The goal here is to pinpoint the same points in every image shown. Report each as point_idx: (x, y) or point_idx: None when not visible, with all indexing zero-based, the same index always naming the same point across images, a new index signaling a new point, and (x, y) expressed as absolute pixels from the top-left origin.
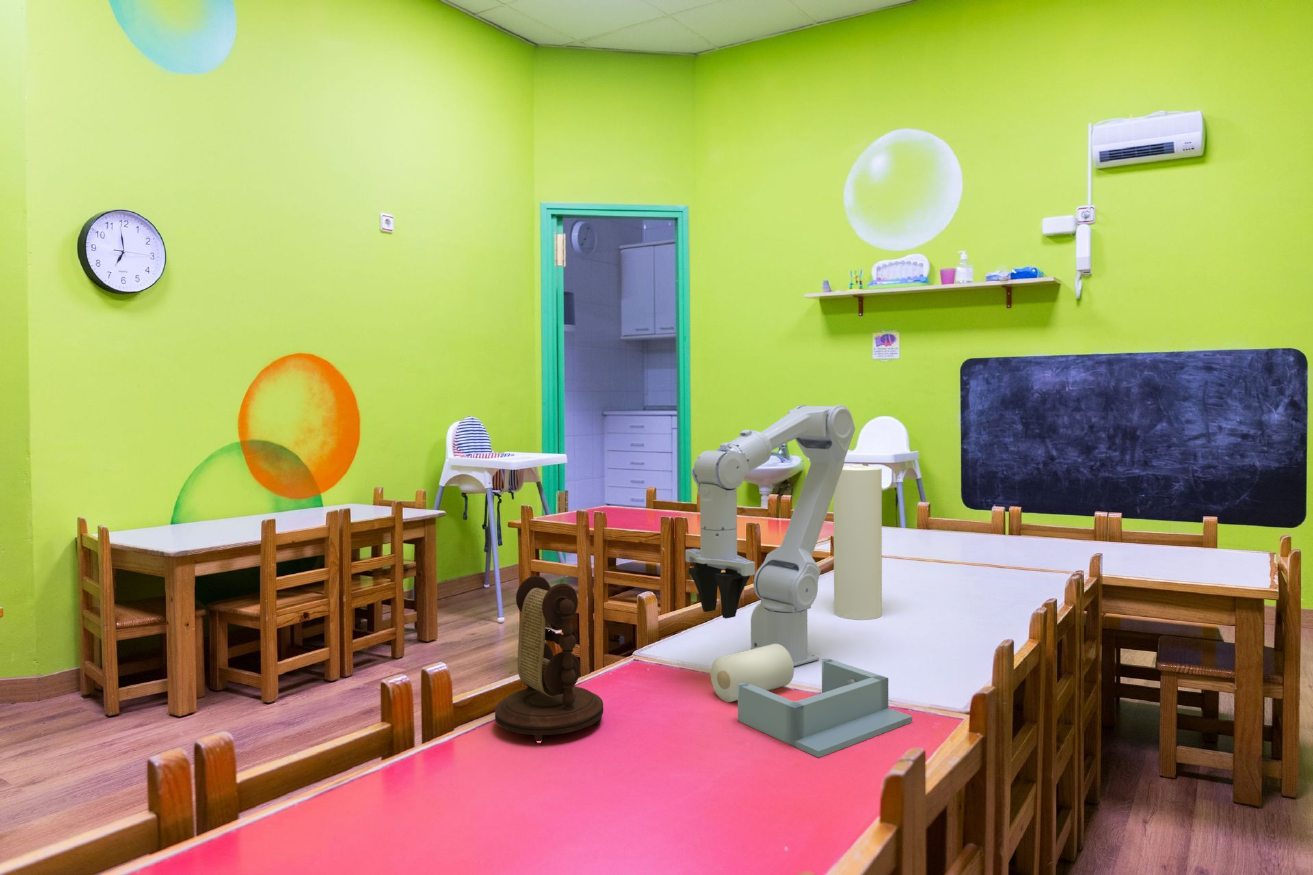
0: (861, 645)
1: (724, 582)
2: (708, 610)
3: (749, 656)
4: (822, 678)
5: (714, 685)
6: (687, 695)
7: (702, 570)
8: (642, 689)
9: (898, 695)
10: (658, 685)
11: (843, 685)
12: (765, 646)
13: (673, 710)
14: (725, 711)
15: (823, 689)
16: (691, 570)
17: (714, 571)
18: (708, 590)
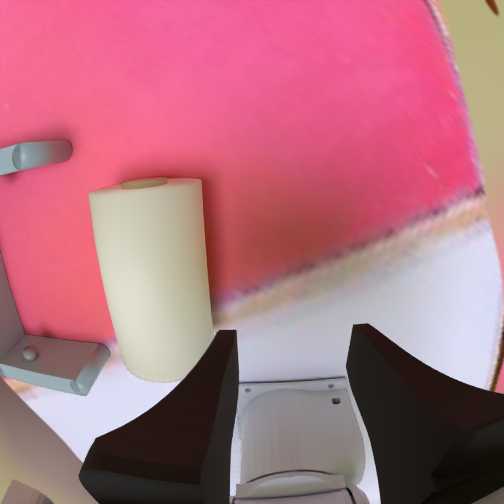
0: None
1: (107, 434)
2: (351, 340)
3: (114, 272)
4: (91, 360)
5: (189, 179)
6: (235, 127)
7: (439, 467)
8: (334, 72)
9: (67, 399)
10: (334, 115)
11: (52, 355)
12: (159, 353)
13: (179, 54)
14: (111, 143)
15: (96, 348)
16: (501, 414)
17: (398, 497)
18: (381, 402)
